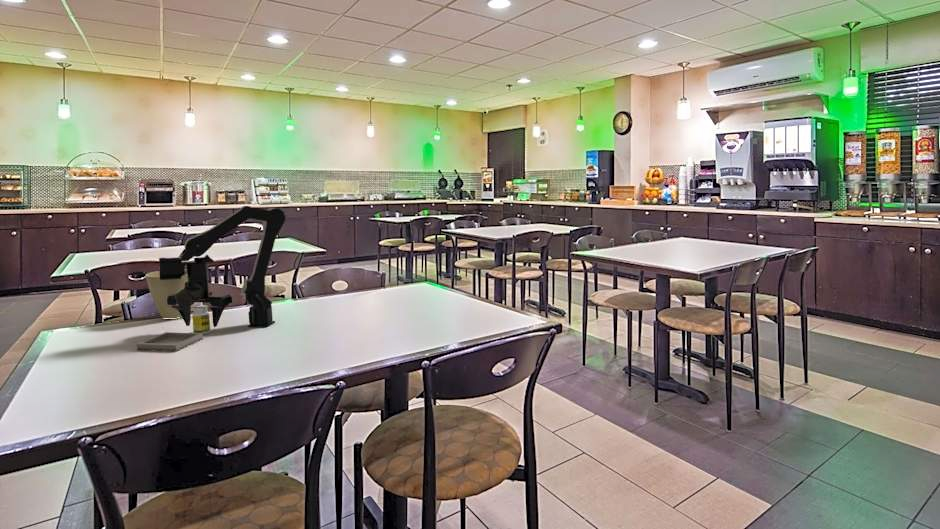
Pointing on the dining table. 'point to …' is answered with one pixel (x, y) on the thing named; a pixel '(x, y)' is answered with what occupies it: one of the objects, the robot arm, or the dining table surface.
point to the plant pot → (165, 292)
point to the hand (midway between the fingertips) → (201, 326)
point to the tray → (170, 341)
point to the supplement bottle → (201, 319)
